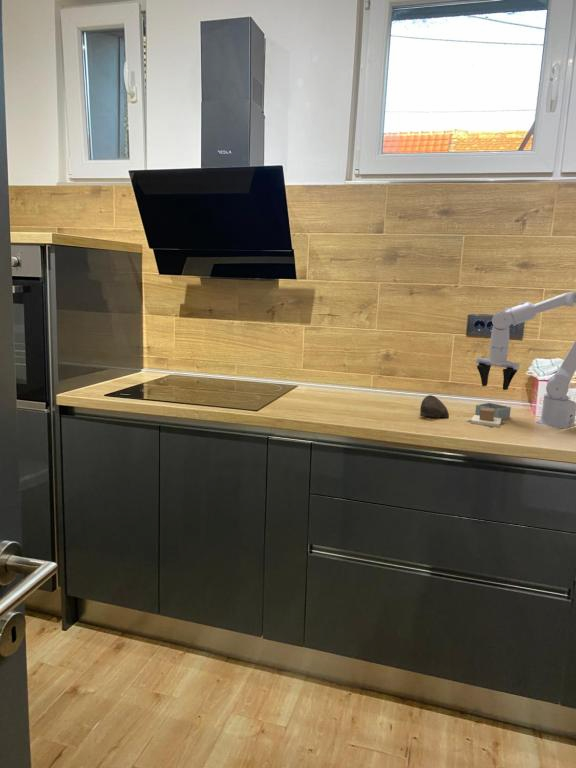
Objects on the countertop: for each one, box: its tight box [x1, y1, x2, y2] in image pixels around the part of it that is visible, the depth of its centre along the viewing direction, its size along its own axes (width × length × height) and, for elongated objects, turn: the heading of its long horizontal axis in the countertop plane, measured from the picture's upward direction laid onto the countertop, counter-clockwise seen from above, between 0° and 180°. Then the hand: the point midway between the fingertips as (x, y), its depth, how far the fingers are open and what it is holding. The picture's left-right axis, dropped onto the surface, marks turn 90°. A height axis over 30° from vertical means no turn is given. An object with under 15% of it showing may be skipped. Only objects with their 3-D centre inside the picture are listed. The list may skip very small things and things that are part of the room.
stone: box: [419, 394, 450, 419], centre depth 188 cm, size 10×8×10 cm
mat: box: [466, 419, 507, 428], centre depth 182 cm, size 9×9×1 cm
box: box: [474, 402, 512, 420], centre depth 190 cm, size 8×8×4 cm
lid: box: [470, 408, 503, 428], centre depth 182 cm, size 9×9×4 cm
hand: (494, 387), depth 191 cm, fingers open, 7 cm apart
